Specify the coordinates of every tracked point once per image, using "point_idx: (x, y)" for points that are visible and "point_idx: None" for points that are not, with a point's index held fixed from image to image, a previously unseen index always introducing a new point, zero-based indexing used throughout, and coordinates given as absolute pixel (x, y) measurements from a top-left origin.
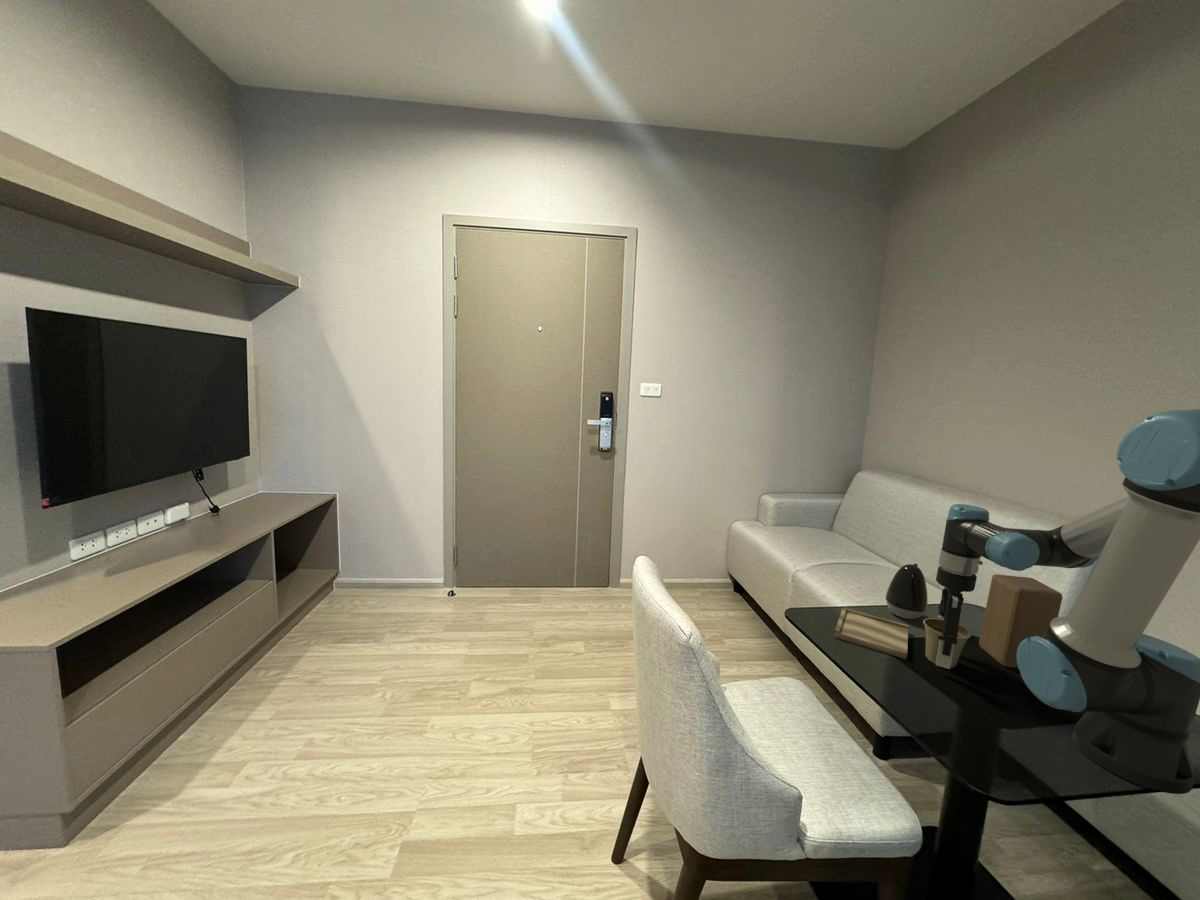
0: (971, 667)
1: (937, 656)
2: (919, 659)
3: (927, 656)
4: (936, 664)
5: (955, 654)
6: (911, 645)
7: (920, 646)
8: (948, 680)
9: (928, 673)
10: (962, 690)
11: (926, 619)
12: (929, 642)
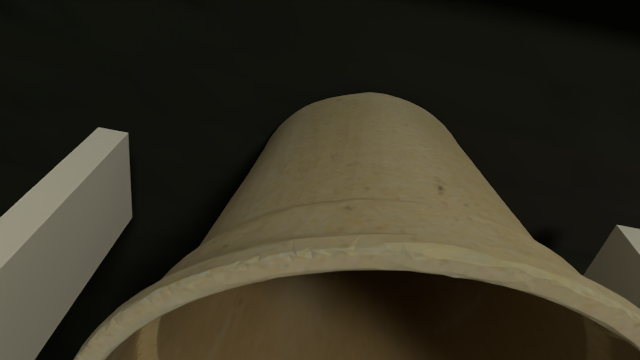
0: None
1: (53, 171)
2: (295, 26)
3: (324, 102)
4: (93, 133)
5: (242, 316)
6: (572, 9)
7: (574, 92)
8: None
9: (75, 49)
10: (6, 211)
11: (617, 333)
12: (284, 167)
